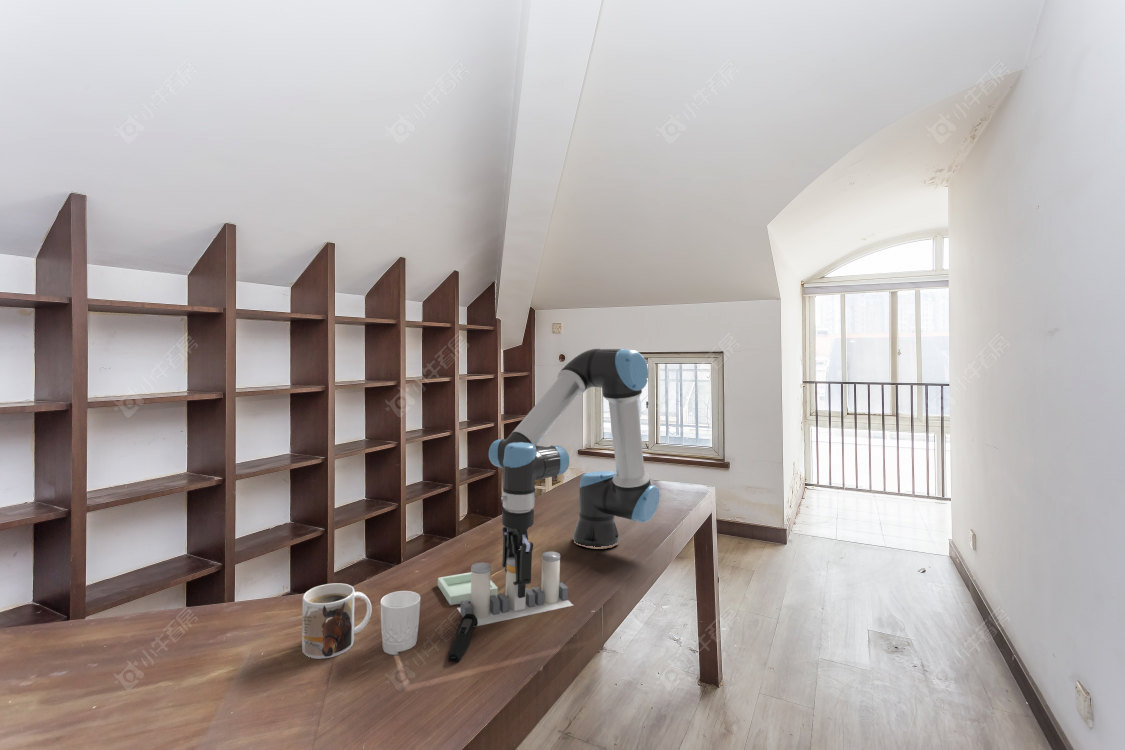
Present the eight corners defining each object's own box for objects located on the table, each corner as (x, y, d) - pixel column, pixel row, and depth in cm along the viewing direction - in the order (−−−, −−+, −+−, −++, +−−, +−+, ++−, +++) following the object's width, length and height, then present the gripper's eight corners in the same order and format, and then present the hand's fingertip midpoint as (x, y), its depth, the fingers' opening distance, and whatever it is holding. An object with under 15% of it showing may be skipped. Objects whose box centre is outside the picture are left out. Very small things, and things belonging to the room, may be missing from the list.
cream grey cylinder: (553, 594, 136) (555, 550, 135) (562, 601, 132) (563, 556, 131) (537, 597, 134) (539, 553, 133) (545, 605, 130) (546, 559, 129)
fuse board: (555, 591, 139) (555, 577, 139) (574, 608, 130) (574, 593, 130) (456, 611, 127) (456, 595, 127) (469, 631, 118) (469, 614, 118)
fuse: (486, 607, 127) (487, 561, 127) (492, 616, 123) (493, 568, 123) (467, 611, 125) (468, 564, 125) (473, 620, 121) (474, 571, 121)
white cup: (389, 661, 106) (390, 611, 105) (373, 644, 111) (374, 597, 111) (426, 648, 111) (427, 600, 110) (409, 632, 117) (410, 587, 116)
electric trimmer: (442, 668, 104) (442, 652, 104) (462, 622, 120) (462, 609, 119) (461, 669, 104) (462, 654, 104) (478, 623, 119) (479, 610, 119)
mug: (318, 630, 116) (318, 580, 116) (373, 633, 116) (373, 582, 116) (292, 658, 106) (293, 602, 105) (352, 660, 105) (353, 605, 105)
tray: (482, 580, 144) (482, 570, 144) (497, 599, 134) (498, 588, 134) (437, 588, 139) (437, 577, 139) (450, 608, 128) (450, 596, 128)
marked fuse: (520, 599, 132) (521, 555, 131) (527, 607, 128) (528, 561, 127) (502, 603, 130) (504, 557, 129) (509, 611, 126) (511, 564, 125)
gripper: (490, 500, 134) (487, 591, 135) (517, 521, 118) (514, 624, 119) (518, 497, 137) (515, 586, 138) (548, 517, 122) (544, 618, 123)
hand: (515, 604), depth 129 cm, fingers open, 5 cm apart
